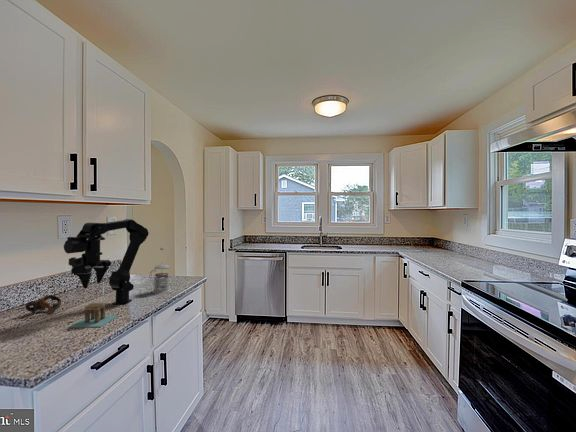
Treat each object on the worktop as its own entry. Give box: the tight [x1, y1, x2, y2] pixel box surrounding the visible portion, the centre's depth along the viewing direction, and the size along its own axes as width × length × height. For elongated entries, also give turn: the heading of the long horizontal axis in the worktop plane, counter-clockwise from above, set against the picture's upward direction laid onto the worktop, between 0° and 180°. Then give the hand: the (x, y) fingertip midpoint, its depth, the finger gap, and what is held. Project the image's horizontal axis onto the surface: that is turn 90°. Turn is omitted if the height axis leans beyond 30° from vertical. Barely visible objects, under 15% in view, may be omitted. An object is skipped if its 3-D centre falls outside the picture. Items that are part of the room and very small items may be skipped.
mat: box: [69, 314, 119, 328], centre depth 117 cm, size 12×12×1 cm
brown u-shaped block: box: [84, 302, 106, 323], centre depth 117 cm, size 5×5×7 cm
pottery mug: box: [24, 294, 62, 315], centre depth 126 cm, size 12×9×8 cm
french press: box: [148, 247, 171, 294], centre depth 163 cm, size 10×12×25 cm
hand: (92, 285), depth 127 cm, fingers open, 9 cm apart
